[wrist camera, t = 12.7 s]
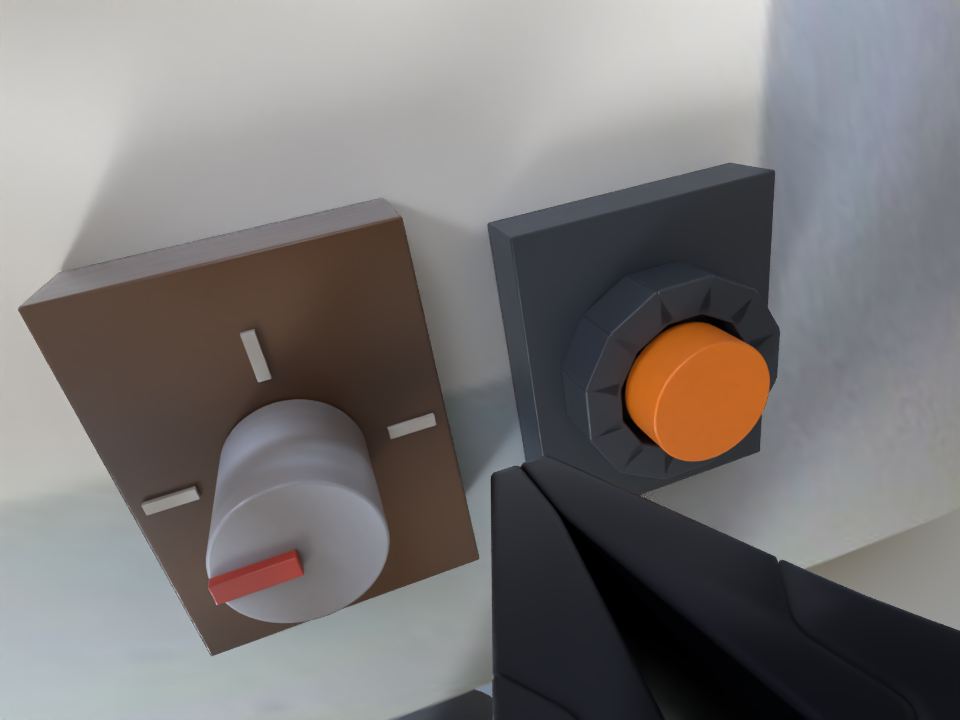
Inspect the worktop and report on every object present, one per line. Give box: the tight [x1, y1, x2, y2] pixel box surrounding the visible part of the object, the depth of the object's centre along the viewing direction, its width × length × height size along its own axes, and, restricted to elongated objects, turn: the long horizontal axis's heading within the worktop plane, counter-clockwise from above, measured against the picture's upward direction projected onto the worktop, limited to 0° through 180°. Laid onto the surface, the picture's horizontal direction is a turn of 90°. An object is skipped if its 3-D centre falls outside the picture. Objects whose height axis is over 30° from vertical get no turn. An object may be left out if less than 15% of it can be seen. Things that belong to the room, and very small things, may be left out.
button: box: [625, 322, 770, 461], centre depth 19 cm, size 4×4×2 cm
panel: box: [18, 198, 479, 656], centre depth 18 cm, size 12×9×3 cm
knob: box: [206, 399, 390, 623], centre depth 15 cm, size 4×4×4 cm
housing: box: [488, 163, 780, 495], centre depth 21 cm, size 11×9×4 cm
